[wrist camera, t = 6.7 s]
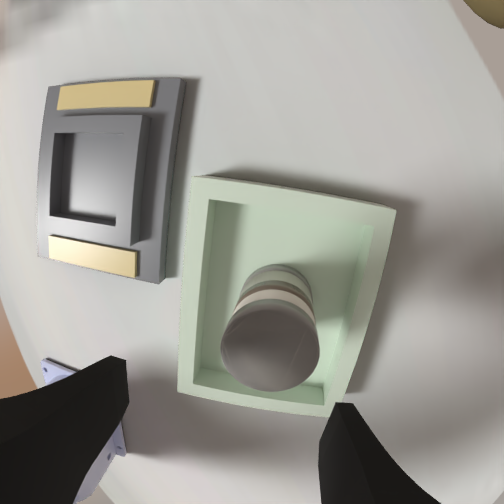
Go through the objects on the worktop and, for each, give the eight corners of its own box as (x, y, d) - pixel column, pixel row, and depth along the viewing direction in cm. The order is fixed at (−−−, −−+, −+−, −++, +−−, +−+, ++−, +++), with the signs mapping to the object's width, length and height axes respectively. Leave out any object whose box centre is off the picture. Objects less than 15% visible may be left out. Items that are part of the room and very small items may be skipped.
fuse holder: (164, 278, 20) (150, 291, 18) (46, 252, 21) (27, 260, 18) (186, 82, 17) (173, 72, 15) (57, 88, 17) (37, 84, 15)
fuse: (308, 331, 19) (313, 394, 13) (240, 326, 19) (221, 387, 14) (315, 266, 18) (325, 311, 12) (241, 262, 18) (219, 304, 13)
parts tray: (331, 394, 21) (335, 418, 18) (187, 370, 21) (177, 391, 19) (383, 204, 17) (396, 210, 15) (204, 175, 18) (191, 176, 16)
